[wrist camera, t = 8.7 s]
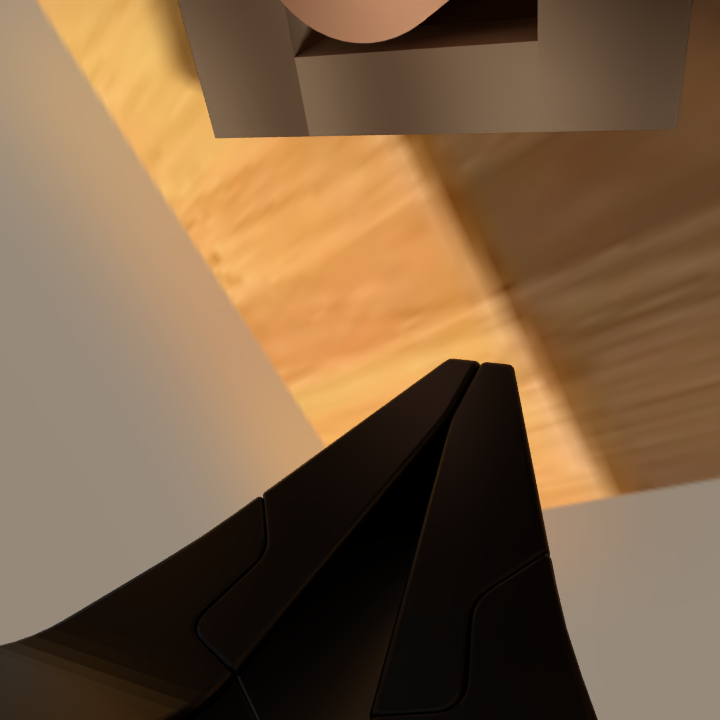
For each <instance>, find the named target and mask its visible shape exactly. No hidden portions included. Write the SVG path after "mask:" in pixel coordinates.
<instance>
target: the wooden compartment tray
mask: <svg viewBox="0 0 720 720" xmlns="http://www.w3.org/2000/svg"><path fill="white" fill-rule="evenodd" d="M692 1H693V0H538V16H531V17H518V18H506V19H494V20H482V21H470V22H457V23H445V24H433V25H421V26H416V27H414V28H413V29H411V30H410V31H408V32H406V33H404V34H402V35H400V36H397V37H395V38H392V39H388V40H385V41H380V42H374V43H353V42H346V41H341V40H338V39H334V38H331V37H328V36H326V35H324V34H322V33H320V32H318V31H316V30H314V29H313V28H311V27H310V26H308V25H306V24H305V23H304V22H302V21H301V20H300V19H299V18H297V17H296V16H295V15H294V14H293V13H292V12H291V11H290V10H289V9H288V8H287V7H286V6H285V5H284V4H283V3H282V2H281V0H178V3H179V7H180V11H181V14H182V18H183V22H184V25H185V29H186V32H187V36H188V40H189V43H190V47H191V51H192V54H193V58H194V62H195V65H196V69H197V73H198V76H199V80H200V84H201V87H202V91H203V95H204V98H205V102H206V105H207V109H208V113H209V116H210V120H211V124H212V127H213V131H214V135H215V138H250V137H301V136H352V135H403V134H454V133H505V132H556V131H607V130H658V129H677V124H678V116H679V108H680V99H681V91H682V83H683V75H684V66H685V58H686V50H687V42H688V34H689V25H690V17H691V9H692Z"/></svg>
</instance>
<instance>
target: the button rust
mask: <svg viewBox="0 0 720 720" xmlns="http://www.w3.org/2000/svg"><path fill="white" fill-rule="evenodd" d="M448 1H449V0H281V2H282V3H283V4H284V5H285V6H286V7H287V8H288V9H289V10H290V11H291V12H292V13H293V14H294V15H295V16H296V17H297V18H299V19H300V20H301V21H302V22H304V23H305V24H306V25H308V26H310V27H311V28H313V29H314V30H316V31H318V32H320V33H322V34H324V35H326V36H328V37H331V38H334V39H338V40H341V41H346V42H353V43H374V42H380V41H385V40H388V39H392V38H395V37H397V36H400V35H402V34H404V33H406V32H408V31H410V30H411V29H413V28H414V27H416V26H417V25H419V24H420V23H422V22H423V21H424V20H425V19H427V18H428V17H429V16H430V15H432V14H433V13H434V12H435V11H436V10H438V9H439V8H440V7H441V6H443V5H444V4H445V3H446V2H448Z"/></svg>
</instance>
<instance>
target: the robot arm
mask: <svg viewBox="0 0 720 720" xmlns="http://www.w3.org/2000/svg"><path fill="white" fill-rule="evenodd" d="M0 720H598V719H597V717H596V714H595V711H594V708H593V705H592V703H591V700H590V697H589V694H588V691H587V689H586V686H585V683H584V681H583V678H582V675H581V672H580V669H579V665H578V662H577V659H576V656H575V653H574V650H573V647H572V644H571V640H570V638H569V634H568V631H567V628H566V624H565V620H564V616H563V611H562V607H561V603H560V599H559V594H558V590H557V586H556V581H555V575H554V570H553V565H552V561H551V558H550V551H549V546H548V542H547V536H546V531H545V526H544V521H543V515H542V510H541V505H540V500H539V495H538V489H537V484H536V479H535V474H534V469H533V464H532V459H531V453H530V448H529V443H528V438H527V433H526V428H525V423H524V417H523V412H522V407H521V402H520V397H519V392H518V386H517V381H516V376H515V371H514V368H513V367H512V366H511V365H508V364H499V363H489V362H485V363H482V364H481V365H480V364H479V363H478V362H477V361H470V360H461V359H449V360H447V361H445V362H443V363H442V364H441V365H439V366H438V367H437V368H435V369H434V370H432V371H431V372H430V373H428V374H427V375H426V376H424V377H423V378H421V379H420V380H419V381H417V382H416V383H415V384H413V385H412V386H410V387H409V388H408V389H406V390H405V391H404V392H402V393H401V394H399V395H398V396H397V397H395V398H394V399H392V400H391V401H390V402H388V403H387V404H386V405H384V406H383V407H381V408H380V409H379V410H377V411H376V412H375V413H373V414H372V415H370V416H369V417H368V418H366V419H365V420H364V421H362V422H361V423H359V424H358V425H357V426H355V427H354V428H352V429H351V430H350V431H348V432H347V433H346V434H344V435H343V436H341V437H340V438H339V439H337V440H336V441H335V442H333V443H332V444H330V445H329V446H328V447H326V448H325V449H324V450H322V451H321V452H319V453H318V454H317V455H315V456H314V457H313V458H311V459H310V460H308V461H307V462H306V463H304V464H303V465H301V466H300V467H299V468H297V469H296V470H295V471H294V472H292V473H290V474H289V475H288V476H286V477H285V478H284V479H282V480H281V481H279V482H278V483H277V484H275V485H274V486H273V487H271V488H270V489H268V490H267V491H266V492H264V494H263V498H262V497H257V498H256V499H254V500H253V501H252V502H250V503H249V504H247V505H246V506H245V507H243V508H242V509H240V510H239V511H238V512H236V513H235V514H234V515H232V516H231V517H229V518H228V519H226V520H225V521H223V522H222V523H220V524H219V525H217V526H216V527H215V528H213V529H212V530H210V531H209V532H207V533H206V534H204V535H203V536H202V537H200V538H198V539H197V540H195V541H194V542H192V543H190V544H189V545H187V546H186V547H184V548H183V549H181V550H179V551H178V552H176V553H175V554H173V555H171V556H170V557H168V558H166V559H165V560H163V561H162V562H160V563H158V564H157V565H155V566H153V567H152V568H150V569H148V570H147V571H145V572H143V573H142V574H140V575H139V576H137V577H135V578H133V579H132V580H130V581H128V582H127V583H125V584H123V585H122V586H120V587H118V588H117V589H115V590H113V591H112V592H110V593H108V594H107V595H105V596H103V597H102V598H100V599H98V600H97V601H95V602H93V603H92V604H90V605H88V606H87V607H85V608H83V609H82V610H80V611H78V612H77V613H75V614H73V615H72V616H70V617H68V618H66V619H65V620H63V621H61V622H59V623H57V624H56V625H54V626H52V627H50V628H48V629H46V630H43V631H41V632H39V633H37V634H35V635H32V636H30V637H27V638H24V639H21V640H18V641H16V642H12V643H8V644H4V645H1V646H0Z"/></svg>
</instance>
